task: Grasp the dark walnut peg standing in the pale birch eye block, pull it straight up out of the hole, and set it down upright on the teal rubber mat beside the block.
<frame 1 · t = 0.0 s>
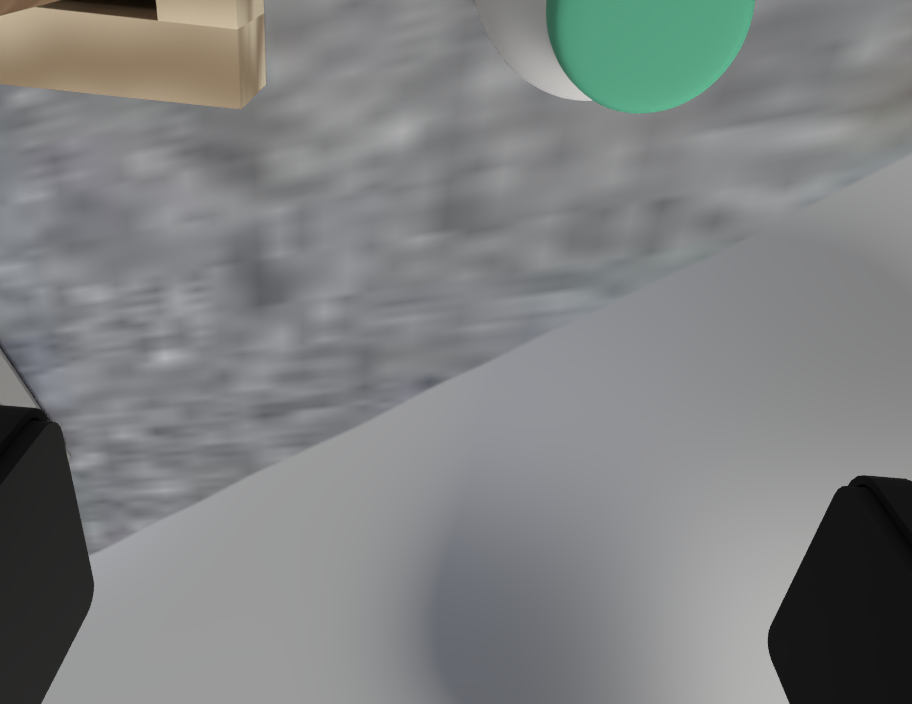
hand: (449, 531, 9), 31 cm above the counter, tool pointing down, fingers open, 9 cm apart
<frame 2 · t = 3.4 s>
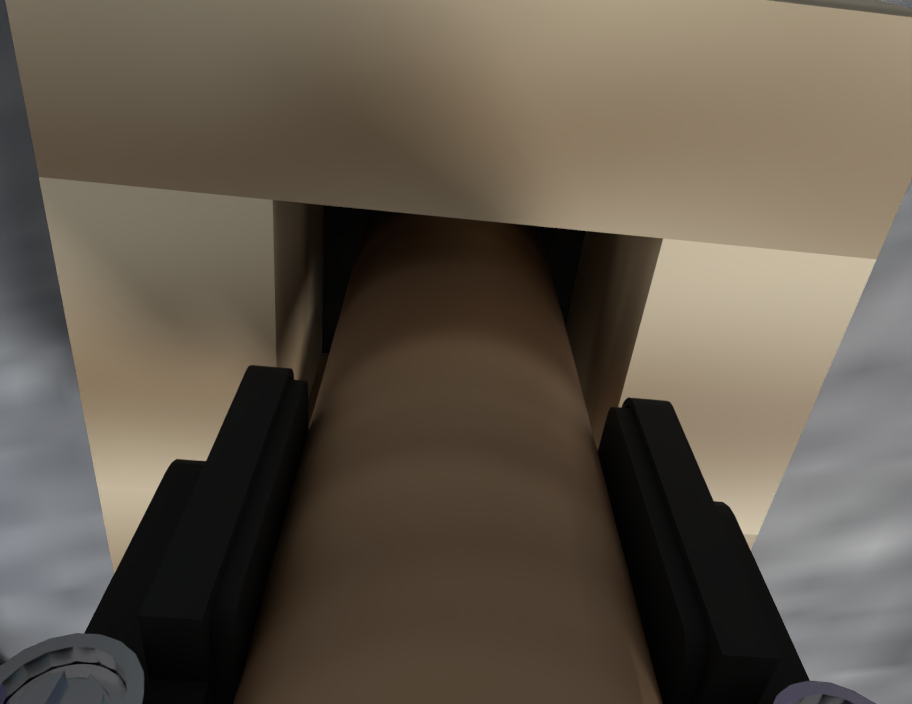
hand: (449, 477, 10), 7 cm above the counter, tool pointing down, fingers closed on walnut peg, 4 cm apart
walnut peg: (450, 462, 10), in the eye block, touching gripper
eye block: (451, 255, 16), on the counter
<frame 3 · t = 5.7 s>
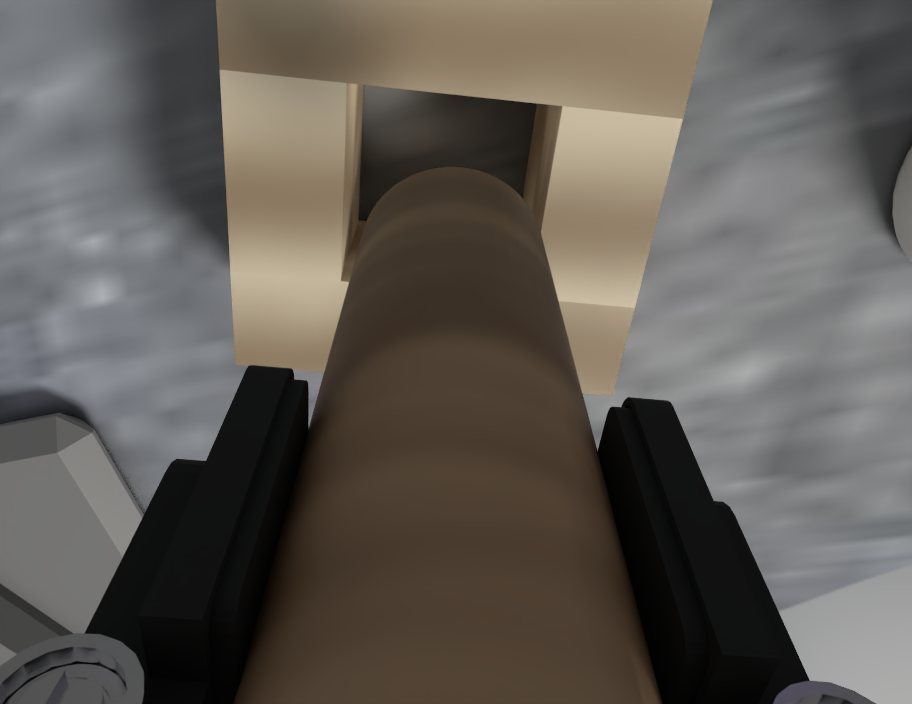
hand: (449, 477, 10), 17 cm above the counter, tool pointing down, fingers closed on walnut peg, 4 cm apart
walnut peg: (450, 461, 10), point 17 cm above the counter, touching gripper
eye block: (445, 149, 25), on the counter
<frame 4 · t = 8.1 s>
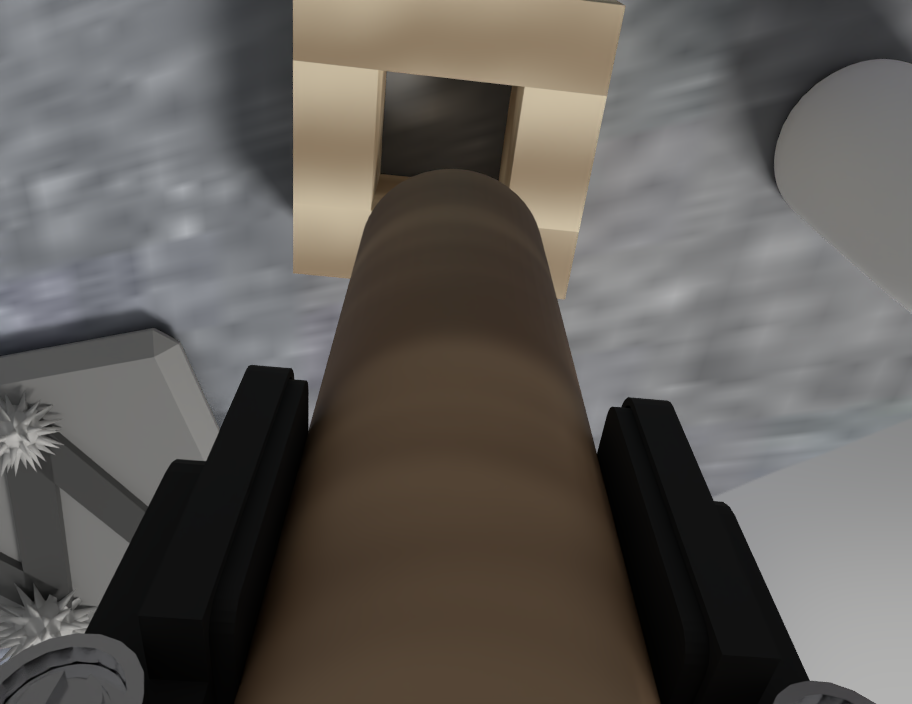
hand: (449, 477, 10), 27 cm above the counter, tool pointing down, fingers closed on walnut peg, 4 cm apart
walnut peg: (449, 464, 10), point 27 cm above the counter, touching gripper
decorative plate: (20, 502, 47), on the counter
milk bottle: (851, 142, 35), on the counter
eye block: (445, 120, 34), on the counter
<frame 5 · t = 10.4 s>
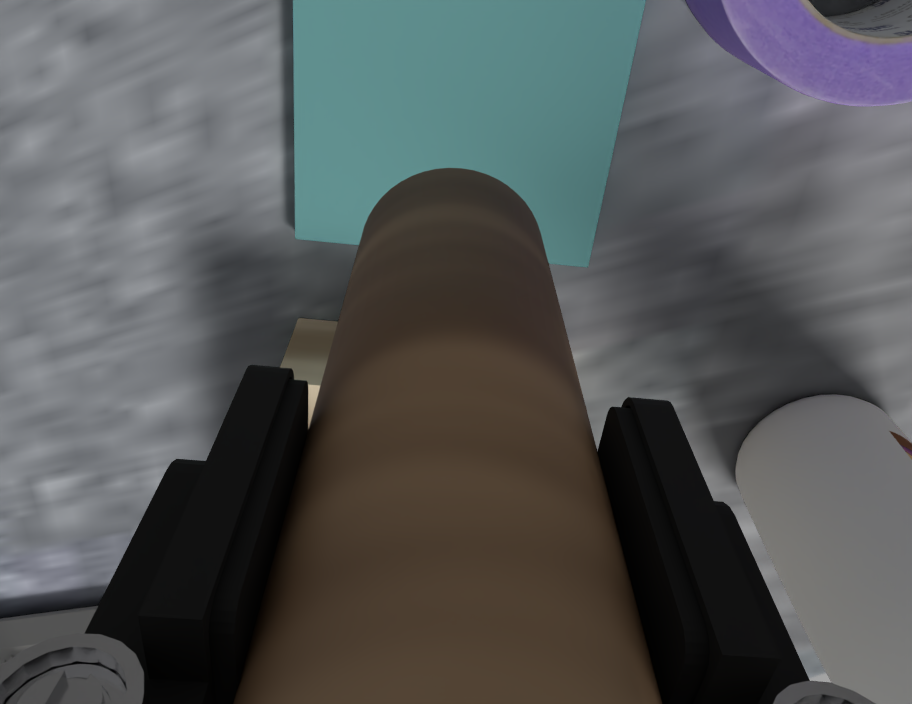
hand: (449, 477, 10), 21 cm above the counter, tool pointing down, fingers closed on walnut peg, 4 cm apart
walnut peg: (450, 464, 10), point 21 cm above the counter, touching gripper
teal mat: (458, 99, 28), on the counter
milk bottle: (809, 450, 37), on the counter
eye block: (423, 437, 36), on the counter
when the fingers open (9 cm above the counter, at t = 12.7 s): walnut peg drops 1 cm, resting on teal mat.
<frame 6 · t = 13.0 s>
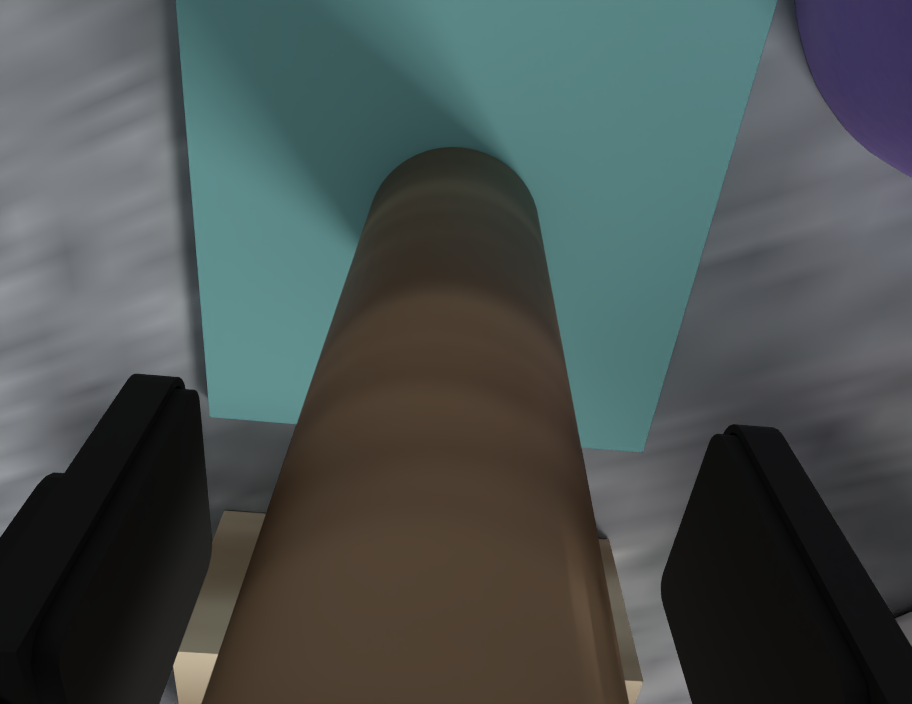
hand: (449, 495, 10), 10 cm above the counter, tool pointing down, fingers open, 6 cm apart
walnut peg: (441, 407, 12), on the teal mat, point 8 cm above the counter
teal mat: (451, 223, 18), on the counter
eye block: (405, 649, 26), on the counter
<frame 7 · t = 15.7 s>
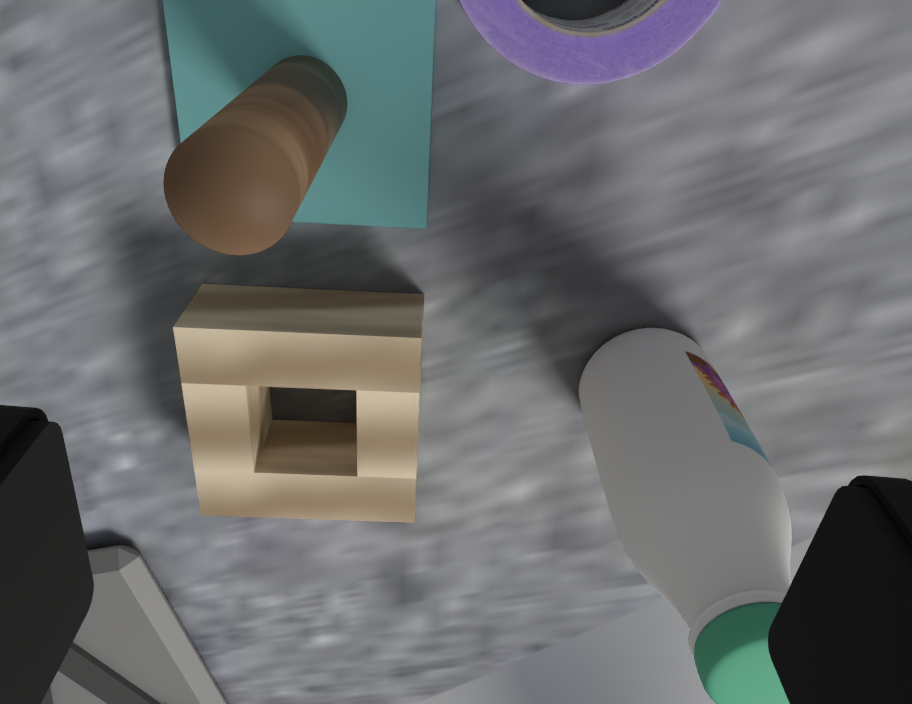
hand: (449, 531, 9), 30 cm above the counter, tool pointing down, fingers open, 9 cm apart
walnut peg: (275, 137, 29), on the teal mat, point 8 cm above the counter
teal mat: (305, 98, 36), on the counter
decorative plate: (15, 662, 57), on the counter
milk bottle: (641, 379, 44), on the counter
eye block: (317, 382, 44), on the counter
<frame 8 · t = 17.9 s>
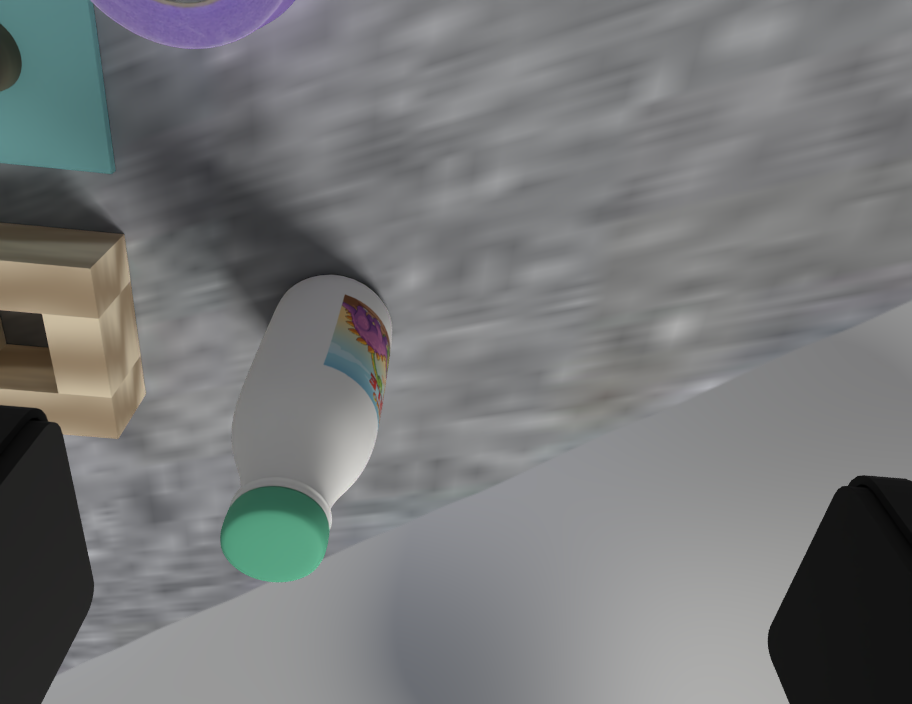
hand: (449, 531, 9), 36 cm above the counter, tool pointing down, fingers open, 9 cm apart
milk bottle: (335, 322, 49), on the counter
eye block: (41, 311, 49), on the counter
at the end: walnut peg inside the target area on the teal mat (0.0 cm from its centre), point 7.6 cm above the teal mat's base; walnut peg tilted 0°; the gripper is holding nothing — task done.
